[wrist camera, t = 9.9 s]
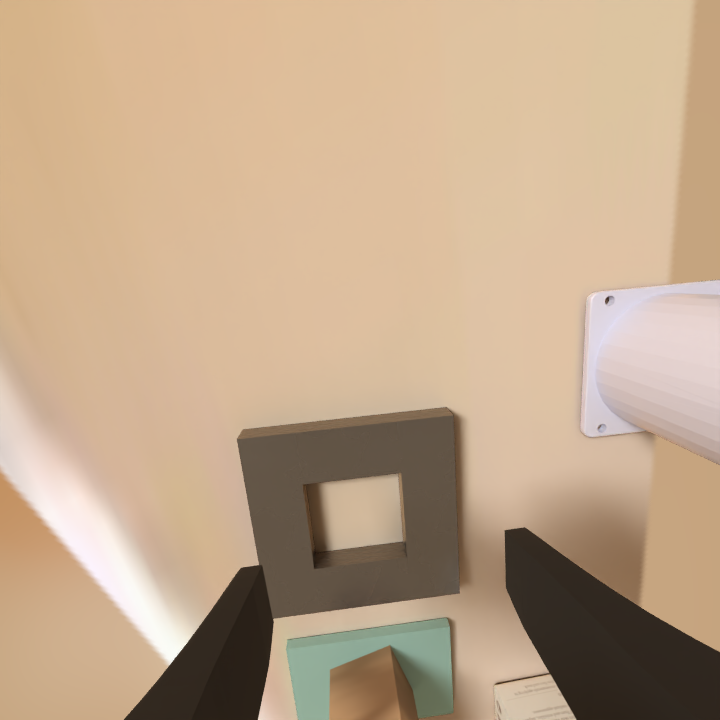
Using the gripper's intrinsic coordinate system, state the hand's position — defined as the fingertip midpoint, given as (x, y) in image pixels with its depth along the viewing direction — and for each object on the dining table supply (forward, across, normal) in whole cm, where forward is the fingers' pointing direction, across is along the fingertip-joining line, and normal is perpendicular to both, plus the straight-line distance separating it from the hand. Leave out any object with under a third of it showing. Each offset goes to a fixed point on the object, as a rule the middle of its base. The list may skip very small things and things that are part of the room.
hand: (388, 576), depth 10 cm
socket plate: (+9, +1, +4) cm, 10 cm away
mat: (+9, +1, +16) cm, 19 cm away
